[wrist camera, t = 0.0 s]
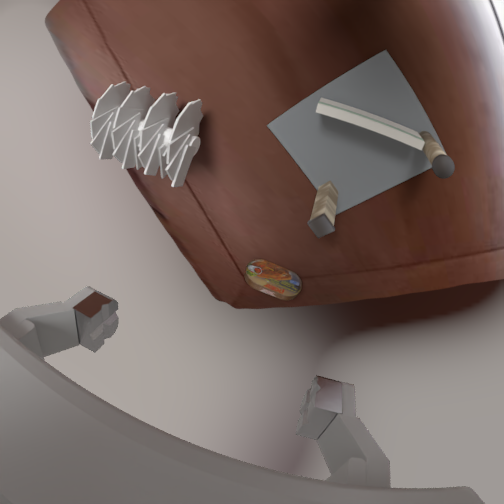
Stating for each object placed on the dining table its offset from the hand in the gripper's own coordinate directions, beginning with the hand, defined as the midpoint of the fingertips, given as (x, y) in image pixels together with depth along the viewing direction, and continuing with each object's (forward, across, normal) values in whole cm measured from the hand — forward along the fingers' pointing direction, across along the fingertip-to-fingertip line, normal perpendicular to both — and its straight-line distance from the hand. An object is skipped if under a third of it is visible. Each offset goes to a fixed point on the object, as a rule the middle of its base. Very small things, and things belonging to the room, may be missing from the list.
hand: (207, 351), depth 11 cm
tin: (+64, +1, +26) cm, 70 cm away
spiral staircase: (+53, +33, -6) cm, 63 cm away
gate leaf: (+49, -9, -16) cm, 52 cm away
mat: (+51, -8, -11) cm, 53 cm away
